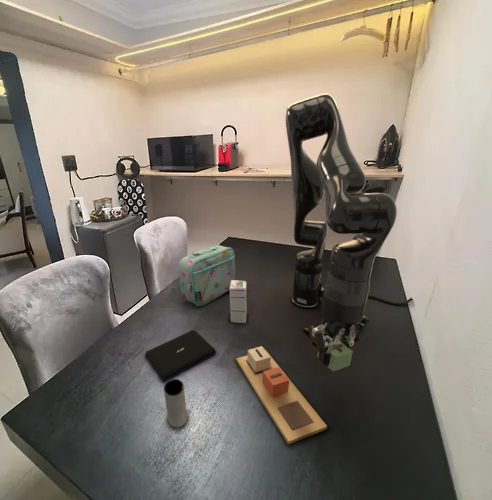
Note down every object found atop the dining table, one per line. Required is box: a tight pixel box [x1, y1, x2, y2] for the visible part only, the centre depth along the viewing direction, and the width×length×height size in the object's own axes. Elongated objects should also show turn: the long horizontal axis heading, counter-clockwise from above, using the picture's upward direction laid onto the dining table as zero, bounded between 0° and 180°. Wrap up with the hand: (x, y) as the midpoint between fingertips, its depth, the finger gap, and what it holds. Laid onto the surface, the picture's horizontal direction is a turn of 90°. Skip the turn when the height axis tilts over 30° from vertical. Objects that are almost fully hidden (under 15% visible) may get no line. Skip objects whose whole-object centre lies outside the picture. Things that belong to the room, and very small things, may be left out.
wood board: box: [235, 349, 328, 445], centre depth 68 cm, size 10×25×1 cm, turn 17°
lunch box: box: [177, 244, 237, 307], centre depth 110 cm, size 27×10×21 cm, turn 131°
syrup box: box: [229, 279, 248, 324], centre depth 95 cm, size 6×6×14 cm
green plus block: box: [317, 340, 354, 372], centre depth 58 cm, size 5×5×4 cm
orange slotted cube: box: [263, 366, 290, 397], centre depth 67 cm, size 5×5×4 cm
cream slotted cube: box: [247, 345, 272, 372], centre depth 74 cm, size 5×5×4 cm
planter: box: [163, 378, 188, 429], centre depth 61 cm, size 4×4×10 cm
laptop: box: [145, 329, 217, 382], centre depth 82 cm, size 16×20×2 cm
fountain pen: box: [302, 327, 310, 336], centre depth 83 cm, size 14×1×2 cm, turn 25°
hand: (333, 359), depth 59 cm, fingers closed on green plus block, 4 cm apart
